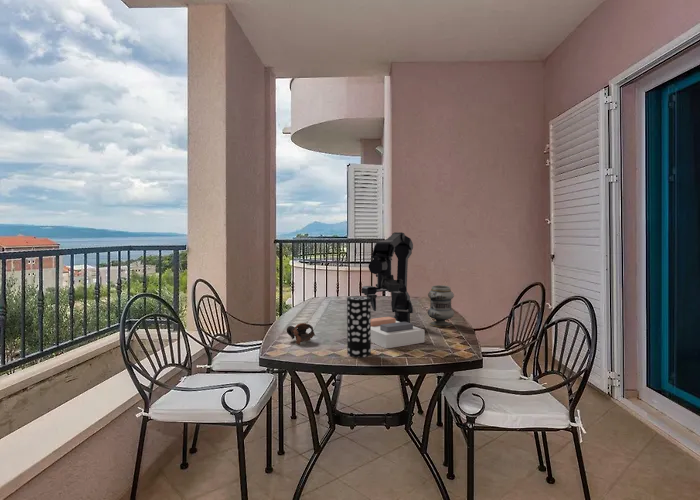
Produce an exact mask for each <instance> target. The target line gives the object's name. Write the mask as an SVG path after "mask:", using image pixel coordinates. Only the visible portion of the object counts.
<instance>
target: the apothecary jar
mask: <svg viewBox="0 0 700 500" xmlns="http://www.w3.org/2000/svg"><path fill="white" fill-rule="evenodd" d="M427 296H428V299H430V307H429V309H427V316H429V318H431V319H432V320H433V321H432V322H430V323H429V325H430V326H432V327H436V328H449V327H452V324H451V323H450V322H448V321H447V320H450V319H451V318H453V317H454V315H455V311H454V310H453V309H452V300H453V298H454V297H455V293H454V292H453V291H452V289H451V286H449V285H443V284H441V285H433V286H431V289H430V291H428V292H427Z"/></svg>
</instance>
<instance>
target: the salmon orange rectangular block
mask: <svg viewBox="0 0 700 500" xmlns="http://www.w3.org/2000/svg"><path fill="white" fill-rule="evenodd" d="M390 323H396V319H395V318H394V317H391V316H383V317H375V318H371V326H379V325H382V324H390Z"/></svg>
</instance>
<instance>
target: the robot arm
mask: <svg viewBox="0 0 700 500" xmlns="http://www.w3.org/2000/svg"><path fill="white" fill-rule="evenodd" d="M391 234H392V235H390V236H389V237H388V238H386V239H384V240H378V241H376V243H375V244H374V247H373V250H372V254H371V258H372V259H371V260H370V262H369V264H368V270H369V272H370V273H371V274H373V275H375V277H376V278H377V283H375V286H373V285H364V286H362V288H361V289H360V290H361V294H364V296H365V297H370V302H371V308H372V311H374V312H376V311H377V297H378V294H377V293H379V292H389V293H390V295H391V296H390V297H391V303H390V304H391V305H390V306H391V311H392V313H394V317H393V318H395V319H396V321H399V322H409V323H411V314H413V313H414V306H413V304H412V300H411V295H410V294H409V292H408V288H407V287H408V270H409V269H408V266H409V265H408V264H409V263H408V262H409V258H410V257H411V255H412V252H413V248H414V243H413V241H412V239H411V238H410V237H408V236H407V235H406V234H405V233H404V232H398V231H397V232H392V233H391ZM394 254H395V256H396V259H397V267H396V269H397V271H396V272H397V273H396V279H394V275H393V274H392V261H393V257H394Z"/></svg>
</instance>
